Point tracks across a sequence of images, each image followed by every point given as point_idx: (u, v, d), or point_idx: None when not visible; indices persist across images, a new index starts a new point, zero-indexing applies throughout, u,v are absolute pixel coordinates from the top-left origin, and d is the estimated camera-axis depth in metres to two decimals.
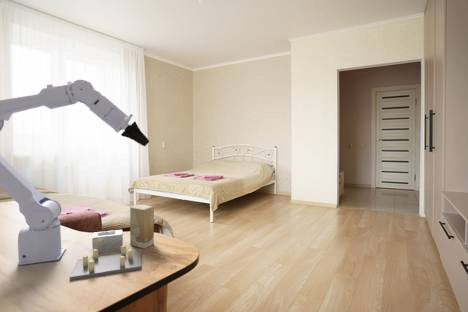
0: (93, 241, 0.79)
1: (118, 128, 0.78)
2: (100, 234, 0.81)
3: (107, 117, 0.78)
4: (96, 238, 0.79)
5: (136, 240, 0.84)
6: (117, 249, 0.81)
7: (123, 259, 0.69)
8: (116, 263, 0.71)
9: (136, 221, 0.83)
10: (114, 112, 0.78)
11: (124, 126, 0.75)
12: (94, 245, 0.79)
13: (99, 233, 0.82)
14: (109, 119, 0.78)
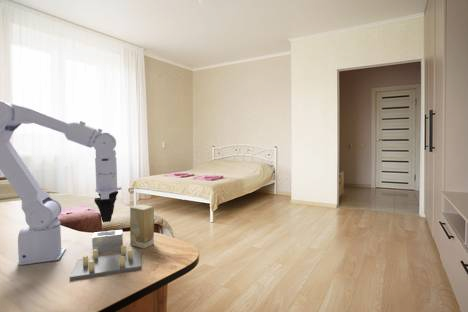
0: (93, 241, 0.79)
1: (98, 192, 0.77)
2: (100, 234, 0.81)
3: (100, 176, 0.78)
4: (96, 238, 0.79)
5: (136, 240, 0.84)
6: (117, 249, 0.81)
7: (123, 259, 0.69)
8: (116, 263, 0.71)
9: (136, 221, 0.83)
10: (109, 177, 0.79)
11: (103, 197, 0.74)
12: (94, 245, 0.79)
13: (99, 233, 0.82)
14: (100, 179, 0.78)
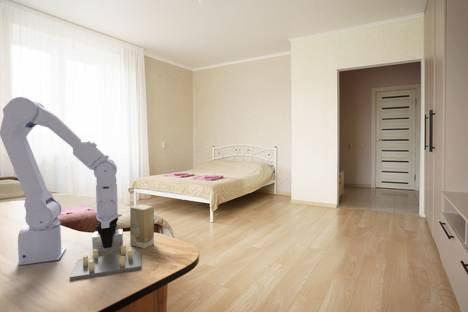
0: (93, 240, 0.79)
1: (99, 220, 0.77)
2: None
3: (101, 204, 0.79)
4: (96, 237, 0.79)
5: (136, 240, 0.84)
6: (117, 248, 0.81)
7: (123, 259, 0.69)
8: (116, 263, 0.71)
9: (136, 221, 0.83)
10: (110, 205, 0.79)
11: (103, 226, 0.75)
12: (94, 245, 0.79)
13: None
14: (100, 206, 0.79)
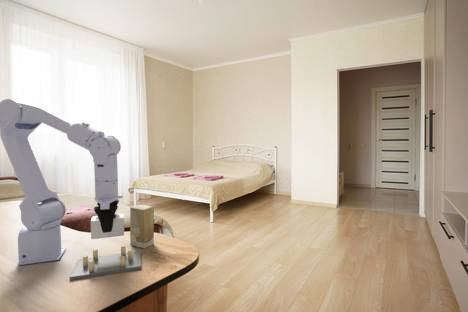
0: (92, 225, 0.72)
1: (98, 201, 0.70)
2: None
3: (100, 183, 0.71)
4: (95, 221, 0.72)
5: (136, 240, 0.84)
6: (118, 234, 0.74)
7: (123, 259, 0.69)
8: (116, 263, 0.71)
9: (136, 221, 0.83)
10: (109, 185, 0.72)
11: (103, 207, 0.68)
12: (93, 230, 0.72)
13: None
14: (99, 186, 0.71)
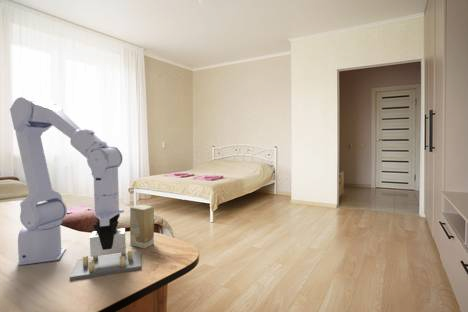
0: (91, 242, 0.68)
1: (97, 216, 0.66)
2: None
3: (99, 198, 0.67)
4: (94, 238, 0.68)
5: (136, 240, 0.84)
6: (119, 251, 0.70)
7: (123, 259, 0.69)
8: (116, 263, 0.71)
9: (136, 221, 0.83)
10: (110, 199, 0.68)
11: (102, 224, 0.64)
12: (92, 247, 0.68)
13: None
14: (99, 201, 0.68)
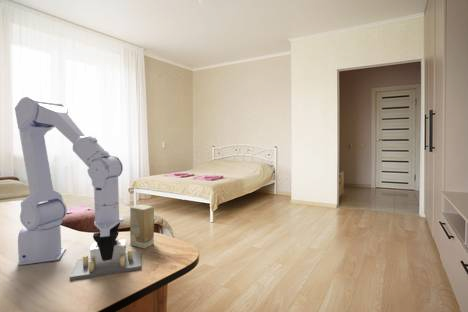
0: (91, 254, 0.68)
1: (97, 227, 0.66)
2: None
3: (100, 208, 0.68)
4: (94, 250, 0.68)
5: (136, 240, 0.84)
6: (119, 262, 0.70)
7: (123, 259, 0.69)
8: None
9: (136, 221, 0.83)
10: (110, 209, 0.68)
11: (103, 234, 0.64)
12: (93, 259, 0.68)
13: None
14: (99, 211, 0.68)
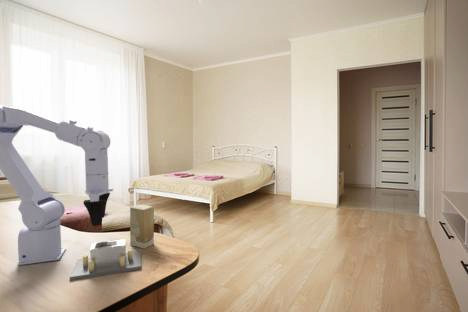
0: (91, 254, 0.68)
1: (88, 193, 0.72)
2: (99, 245, 0.70)
3: (90, 177, 0.74)
4: (94, 250, 0.68)
5: (136, 240, 0.84)
6: (119, 262, 0.70)
7: (123, 259, 0.69)
8: None
9: (136, 221, 0.83)
10: (100, 178, 0.74)
11: (92, 199, 0.70)
12: (93, 259, 0.68)
13: (98, 244, 0.71)
14: (90, 179, 0.74)
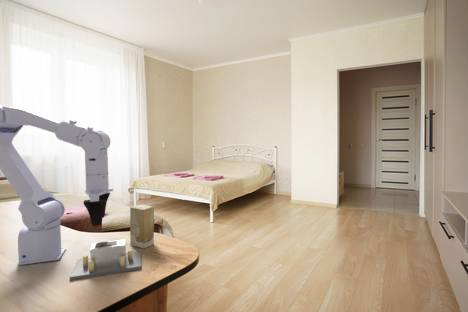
0: (91, 254, 0.68)
1: (88, 193, 0.72)
2: (99, 245, 0.70)
3: (90, 177, 0.74)
4: (94, 250, 0.68)
5: (136, 240, 0.84)
6: (119, 262, 0.70)
7: (123, 259, 0.69)
8: None
9: (136, 221, 0.83)
10: (100, 178, 0.74)
11: (92, 199, 0.70)
12: (93, 259, 0.68)
13: (98, 244, 0.71)
14: (90, 179, 0.74)
